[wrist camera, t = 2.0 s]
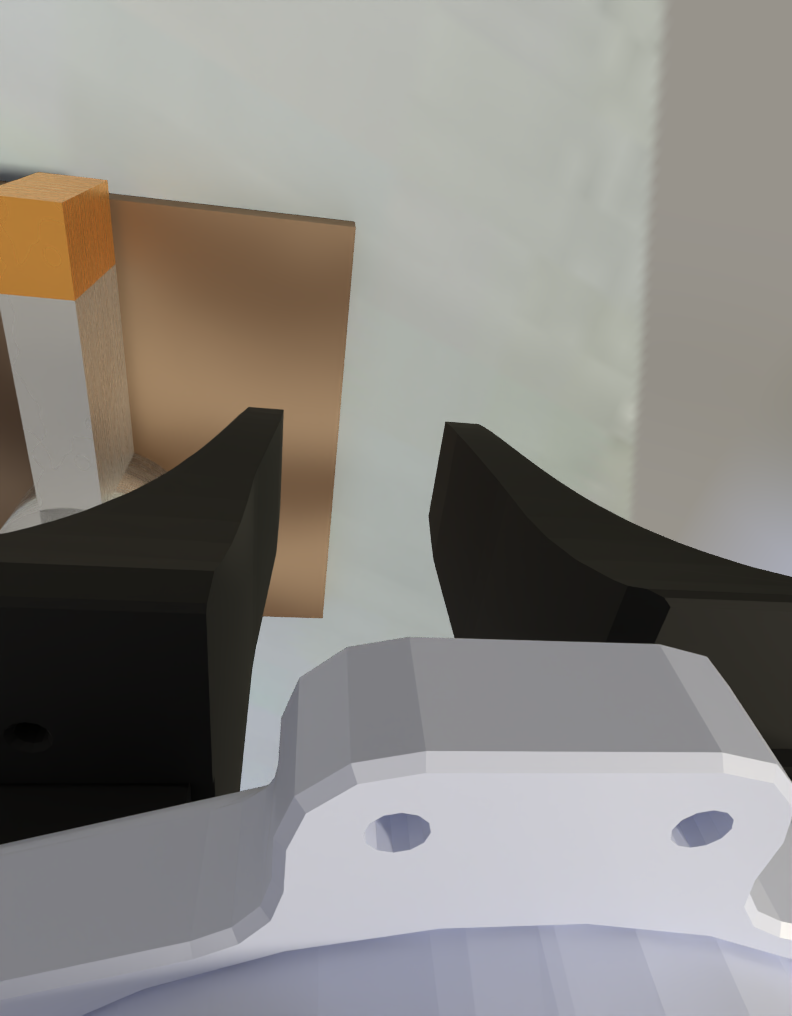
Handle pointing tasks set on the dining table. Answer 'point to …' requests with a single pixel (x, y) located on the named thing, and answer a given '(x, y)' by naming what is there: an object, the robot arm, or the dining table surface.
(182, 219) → the brown flat board
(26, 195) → the orange and grey bar
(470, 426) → the robot arm
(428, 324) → the dining table surface
